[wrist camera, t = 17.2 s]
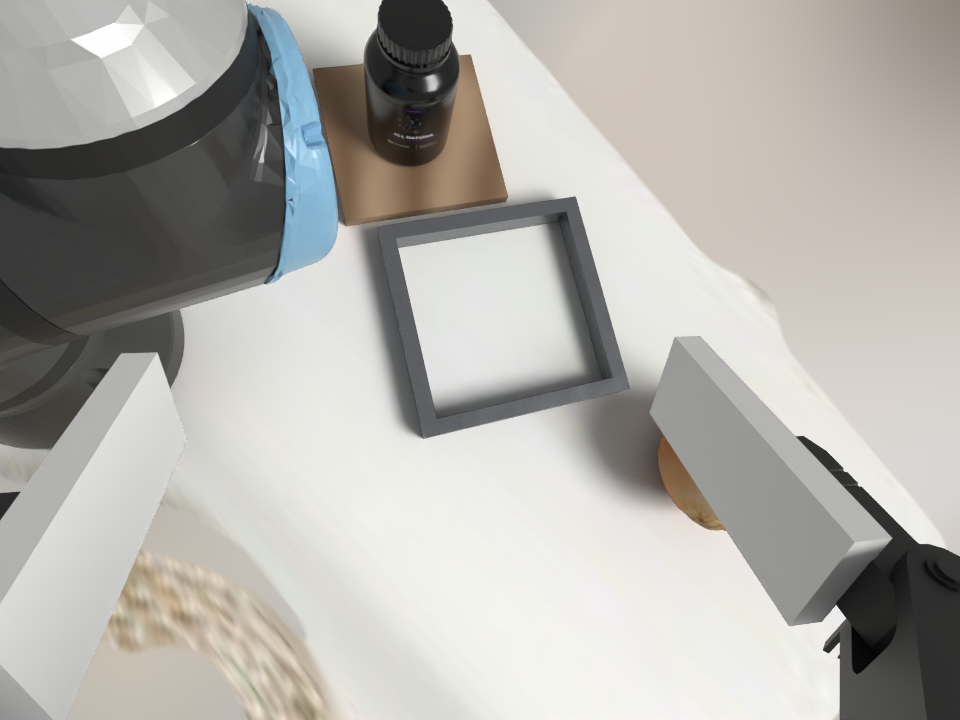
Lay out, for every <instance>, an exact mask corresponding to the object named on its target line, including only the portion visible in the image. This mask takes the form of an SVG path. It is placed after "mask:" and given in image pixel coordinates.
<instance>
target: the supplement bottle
mask: <svg viewBox="0 0 960 720" xmlns="http://www.w3.org/2000/svg"><path fill="white" fill-rule="evenodd" d="M452 31H453V24H452V17H451V13H450V11H449V10H448V7H447V6H446V5H445V4H444V2H443V1H442V0H383V1H382V3H381V5H380V6H379V12H378V25H377V28H376V29H375V30H374V32H373V33H372V34H371V36H370V37H369V39H368V41H367V43H366V46H365V50H364V77H365V96H366V114H367V127H368V134H369V137H370V140H371V142H372V144H373V146H374V147H375V149H376V150H377V151H378V152H379V153H380V154H381V155H382V156H383V157H384V158H386V159H387V160H389V161H391V162H393V163H395V164H398V165H401V166H408V167H415V166H421V165H424V164H427V163H429V162H431V161H433V160H434V159H435V158H437V157H438V156H439V154H440V153H441V152H442V151H443V149H444V147H445V145H446V142H447V138H448V134H449V129H450V124H451V119H452V114H453V108H454V103H455V98H456V93H457V88H458V83H459V78H460V59H459V55H458V52H457V50H456V48H455V45H454V44H453V42H452Z"/></svg>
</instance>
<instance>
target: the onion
mask: <svg viewBox="0 0 960 720" xmlns="http://www.w3.org/2000/svg"><path fill="white" fill-rule="evenodd" d="M658 464H659V470H660V474H661V477H662V480H663V482H664V485H665V487H666V490H667V492H668V494H669V495H670V497H671V499H672V500H673V502H674V503H675V504H676V506H677V507H678V508H679V509H681V510H682V511H683V512H684V513H685V514H686V515H687V516H688V517H689V518H690V519H691V520H693V521H694V522H696V523H698V524H699V525H701V526H702V527H704V528H706V529H709V530H724V531H726V529H725V528H724V526H723V525H722V523H721V522H720V520H719V519H718V517H717V516H716V514H715V513H714V511H713V509H712V508H711V506H710V505H709V503H708V502H707V500H706V499H705V497H704V496H703V494H702V493H701V491H700V490H699V488H698V487H697V485H696V483H695V482H694V480H693V479H692V477H691V476H690V474H689V473H688V471H687V470H686V468H685V467H684V465H683V464H682V462H681V461H680V459H679V458H678V456H677V454H676V453H675V451H674V450H673V448H672V447H671V445H670V444H669V442H668V441H667V439H666V438H665V436H664V435H663V436H662V438H661V440H660V444H659V449H658Z"/></svg>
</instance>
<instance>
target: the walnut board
mask: <svg viewBox="0 0 960 720" xmlns="http://www.w3.org/2000/svg"><path fill="white" fill-rule="evenodd" d="M459 59H460V78H459V83H458V88H457V93H456V98H455V103H454V108H453V114H452V119H451V124H450V129H449V134H448V138H447V142H446V145H445V147H444V149H443V151H442V152H441V153H440V154H439V156H438V157H437V158H435V159H434V160H433V161H431V162H429V163H427V164H424V165H421V166H415V167H408V166H401V165H398V164H395V163H393V162H391V161H389V160H387V159H386V158H384V157H383V156H382V155H381V154H380V153H379V152H378V151H377V150H376V149H375V147H374V146H373V144H372V142H371V140H370V137H369V134H368V127H367V114H366V96H365V77H364V64H360V65H349V66H338V67H327V68H316V69H313V73H314V78H315V83H316V87H317V92H318V97H319V101H320V106H321V111H322V115H323V120H324V125H325V129H326V134H327V139H328V143H329V148H330V153H331V157H332V162H333V167H334V171H335V176H336V181H337V185H338V190H339V195H340V199H341V204H342V209H343V213H344V218H345V223H346V226H351V225H357V224H364V223H370V222H377V221H384V220H390V219H397V218H403V217H410V216H416V215H423V214H430V213H436V212H443V211H449V210H456V209H463V208H469V207H476V206H482V205H489V204H496V203H502V202H506V200H507V198H508V194H507V190H506V187H505V183H504V179H503V175H502V171H501V168H500V164H499V160H498V156H497V153H496V149H495V145H494V141H493V137H492V134H491V130H490V126H489V122H488V118H487V115H486V111H485V107H484V103H483V99H482V96H481V92H480V88H479V84H478V80H477V77H476V73H475V69H474V65H473V61H472V58H471V55H460V56H459Z"/></svg>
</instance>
